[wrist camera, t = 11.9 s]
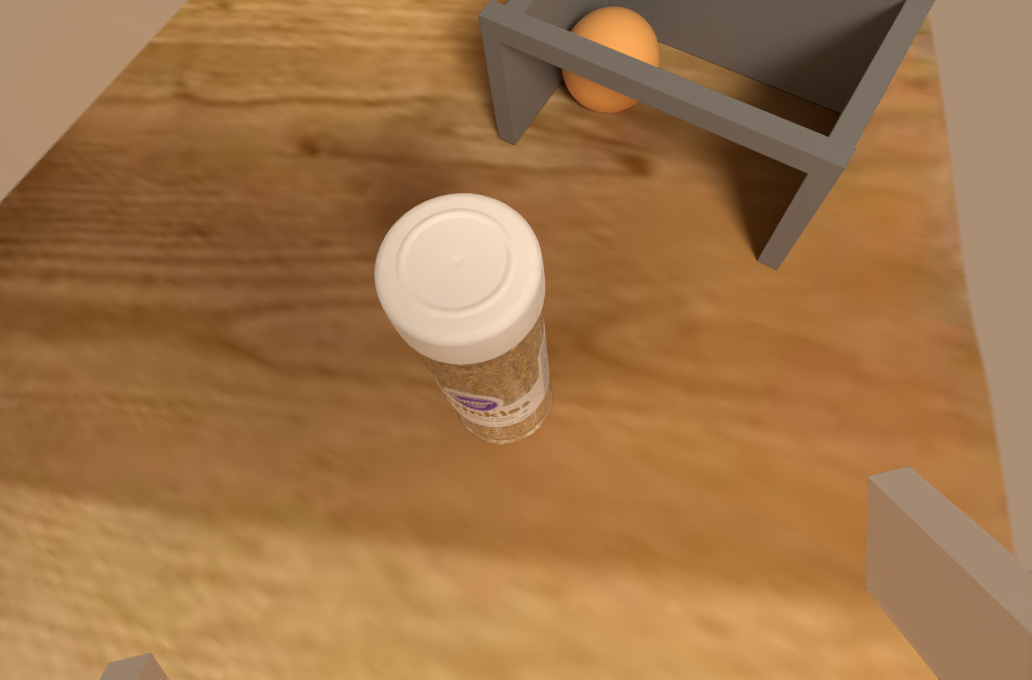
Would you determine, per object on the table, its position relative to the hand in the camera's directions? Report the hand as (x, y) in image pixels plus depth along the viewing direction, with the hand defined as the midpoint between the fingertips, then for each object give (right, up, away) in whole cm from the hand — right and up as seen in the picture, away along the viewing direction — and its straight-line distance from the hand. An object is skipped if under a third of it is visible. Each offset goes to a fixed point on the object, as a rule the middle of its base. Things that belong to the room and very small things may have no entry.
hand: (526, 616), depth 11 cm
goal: (+9, +17, +22) cm, 29 cm away
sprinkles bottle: (-1, +2, +17) cm, 18 cm away
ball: (+5, +19, +21) cm, 29 cm away
